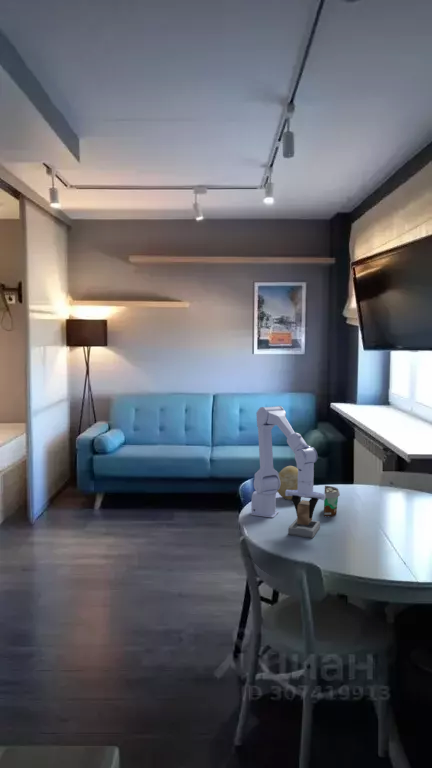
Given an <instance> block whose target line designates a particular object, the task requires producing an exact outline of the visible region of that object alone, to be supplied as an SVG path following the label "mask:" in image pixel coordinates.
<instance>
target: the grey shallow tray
mask: <svg viewBox="0 0 432 768" xmlns="http://www.w3.org/2000/svg"><path fill="white" fill-rule="evenodd" d="M320 528H321V521H319V520H312V521H311V522H310V523H309V524H308V525H303V524H297V518H296V519H294V521H293V522H292V523H291V524H290V525H289V527H288V529H287V530H288V531H287V535H289V536H294V537H302V538H308V539H314V537H315V535H316V534H317V533H318V532H319V530H320Z"/></svg>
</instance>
